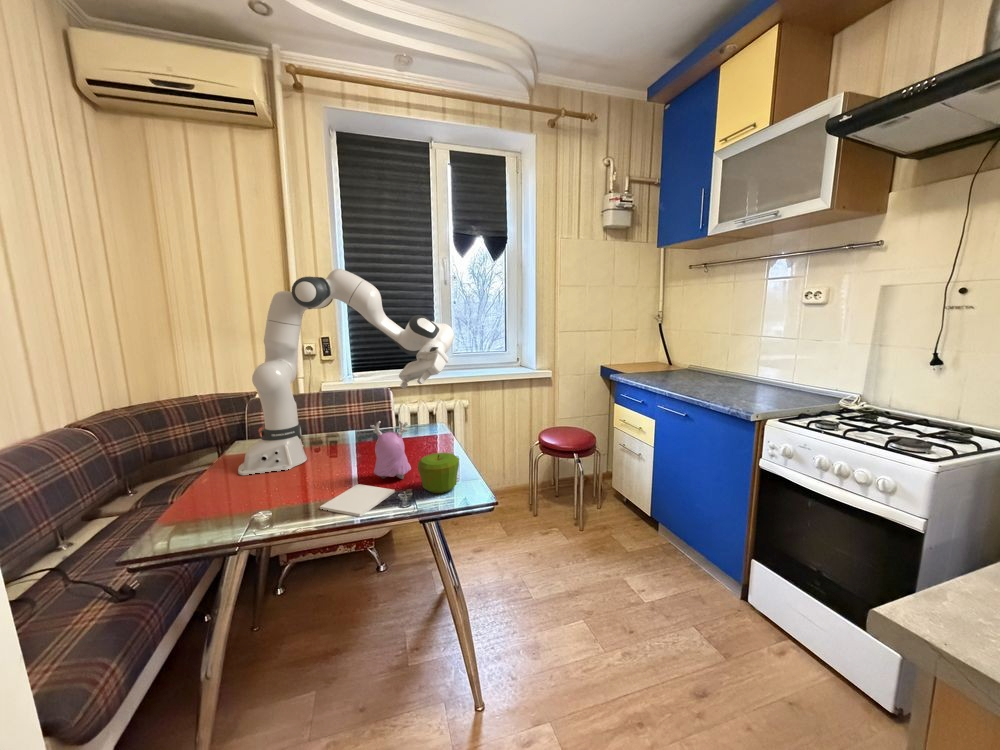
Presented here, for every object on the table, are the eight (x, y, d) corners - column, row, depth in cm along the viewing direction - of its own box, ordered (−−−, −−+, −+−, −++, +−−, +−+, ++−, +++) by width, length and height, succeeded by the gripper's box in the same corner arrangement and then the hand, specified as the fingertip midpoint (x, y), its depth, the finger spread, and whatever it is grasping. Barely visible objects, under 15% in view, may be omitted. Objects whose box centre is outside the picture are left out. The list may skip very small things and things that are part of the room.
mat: (358, 486, 132) (357, 484, 132) (394, 492, 127) (394, 489, 127) (320, 509, 118) (319, 506, 118) (360, 516, 113) (359, 513, 113)
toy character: (415, 472, 143) (411, 416, 139) (405, 485, 132) (401, 424, 129) (381, 472, 144) (377, 416, 141) (369, 484, 134) (364, 424, 131)
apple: (452, 477, 137) (450, 445, 135) (466, 491, 126) (464, 456, 125) (415, 486, 132) (412, 452, 130) (426, 501, 121) (424, 464, 119)
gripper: (406, 357, 159) (387, 383, 150) (441, 346, 146) (423, 373, 137) (416, 368, 162) (399, 394, 153) (452, 358, 149) (435, 386, 140)
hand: (411, 384), depth 145 cm, fingers open, 8 cm apart
